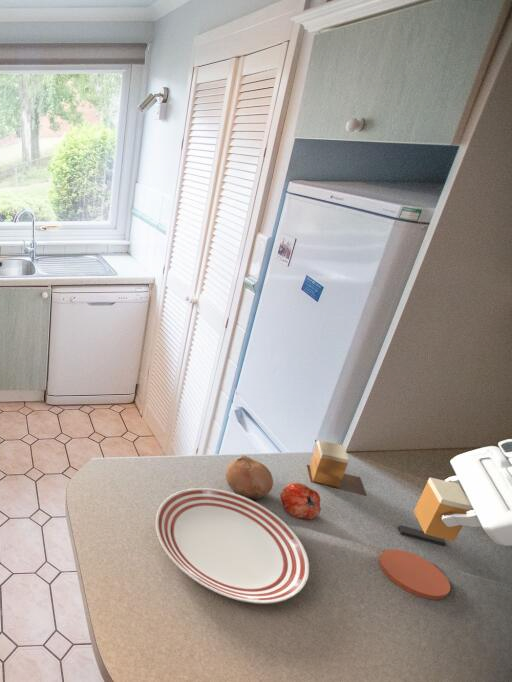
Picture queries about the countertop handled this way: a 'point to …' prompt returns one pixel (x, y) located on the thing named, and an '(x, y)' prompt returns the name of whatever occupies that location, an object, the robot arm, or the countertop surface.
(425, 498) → the cake slice
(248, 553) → the dinner plate
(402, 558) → the coaster
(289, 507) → the pomegranate
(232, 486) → the onion
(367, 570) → the countertop surface
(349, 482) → the loaf cake
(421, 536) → the dark grey bar
